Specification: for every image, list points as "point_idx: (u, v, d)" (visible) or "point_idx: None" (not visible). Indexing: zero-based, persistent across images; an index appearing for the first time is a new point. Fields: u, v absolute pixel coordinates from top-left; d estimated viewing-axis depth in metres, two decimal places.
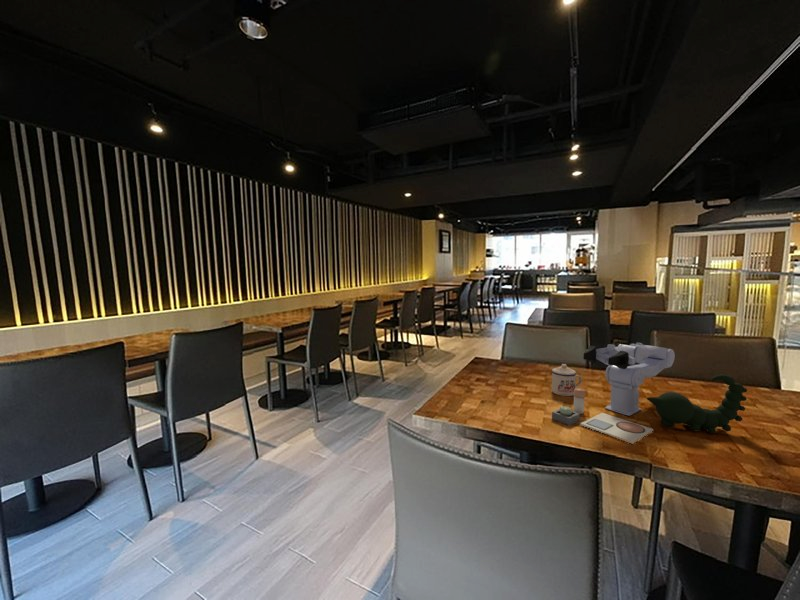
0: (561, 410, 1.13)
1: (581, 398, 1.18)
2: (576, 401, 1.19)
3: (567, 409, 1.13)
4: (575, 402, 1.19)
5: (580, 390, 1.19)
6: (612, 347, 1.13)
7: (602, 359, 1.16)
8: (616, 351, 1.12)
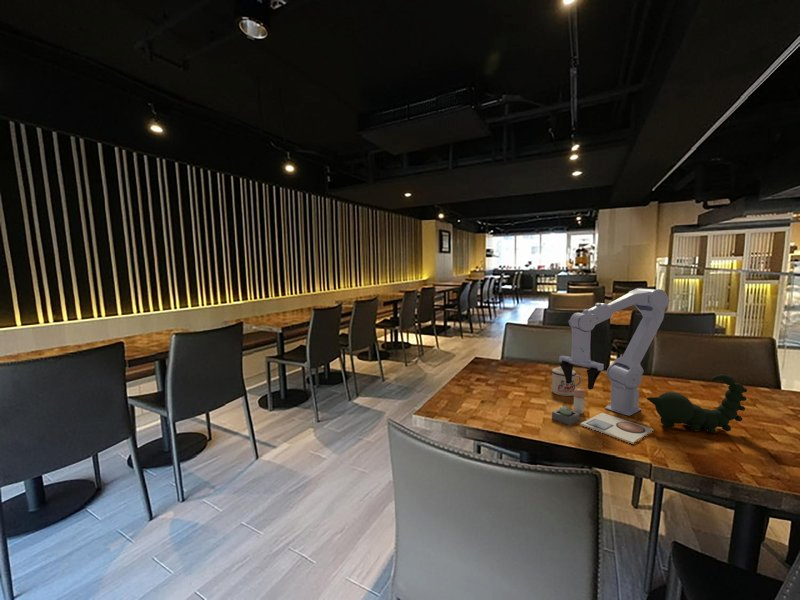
0: (561, 410, 1.13)
1: (581, 398, 1.18)
2: (576, 400, 1.19)
3: (567, 409, 1.13)
4: (575, 402, 1.19)
5: (580, 390, 1.19)
6: (577, 363, 1.16)
7: None
8: None
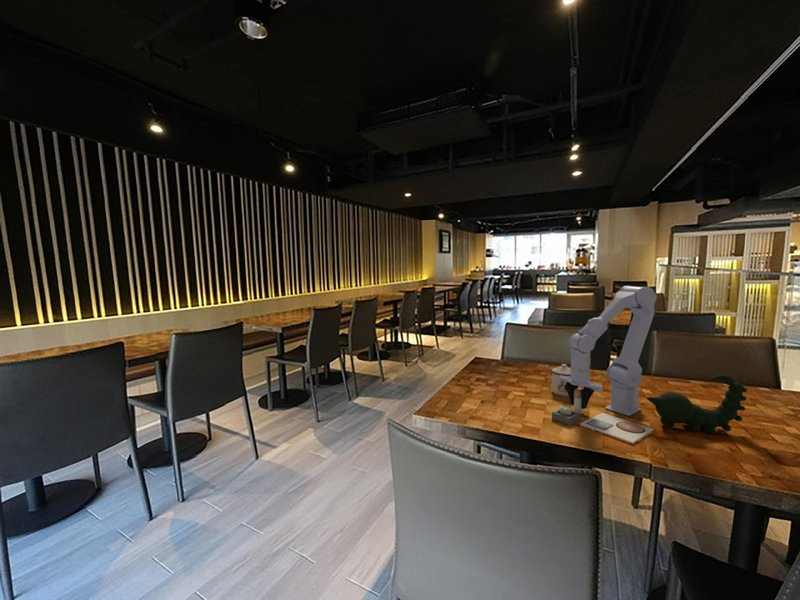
0: (561, 410, 1.13)
1: (581, 398, 1.18)
2: (576, 401, 1.19)
3: (567, 409, 1.13)
4: (575, 402, 1.19)
5: None
6: (576, 385, 1.17)
7: None
8: None
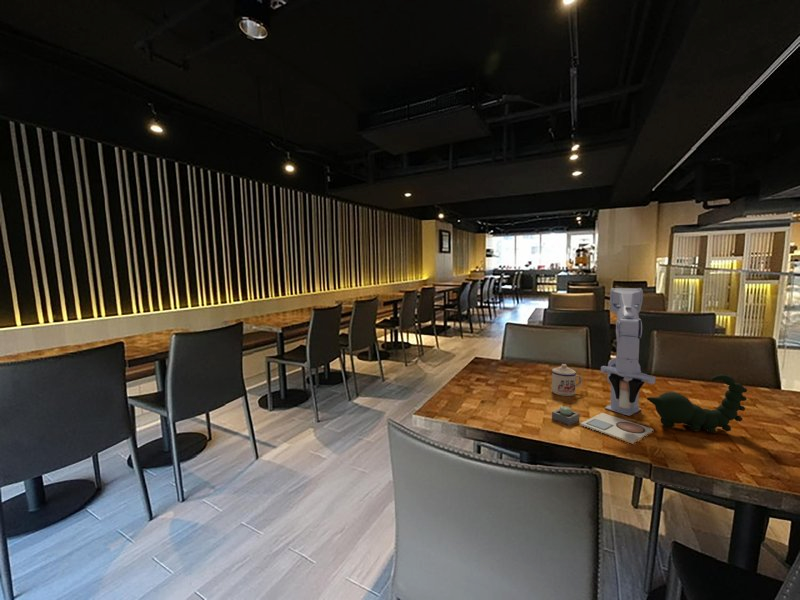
0: (561, 410, 1.13)
1: (629, 390, 1.05)
2: (622, 394, 1.06)
3: (567, 409, 1.13)
4: (621, 395, 1.06)
5: (627, 382, 1.06)
6: (623, 375, 1.04)
7: None
8: None
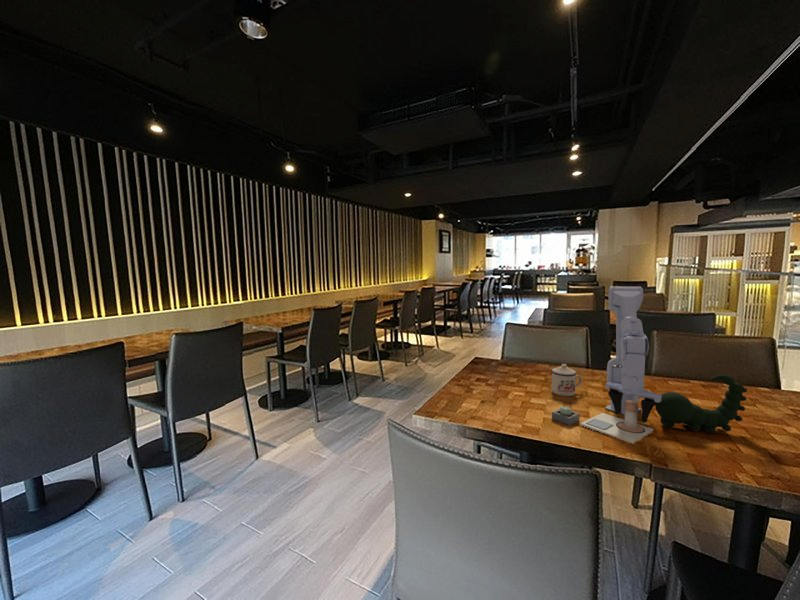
0: (561, 410, 1.13)
1: (635, 411, 1.04)
2: (628, 414, 1.05)
3: (567, 409, 1.13)
4: (627, 416, 1.05)
5: (633, 403, 1.05)
6: (629, 393, 1.03)
7: None
8: None
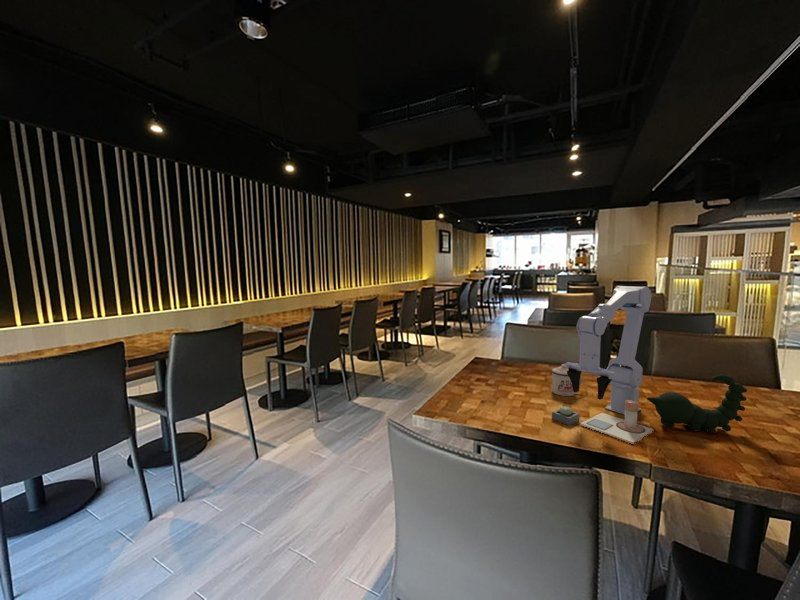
0: (561, 410, 1.13)
1: (635, 412, 1.04)
2: (628, 414, 1.05)
3: (567, 409, 1.13)
4: (627, 416, 1.05)
5: (633, 403, 1.05)
6: None
7: None
8: None
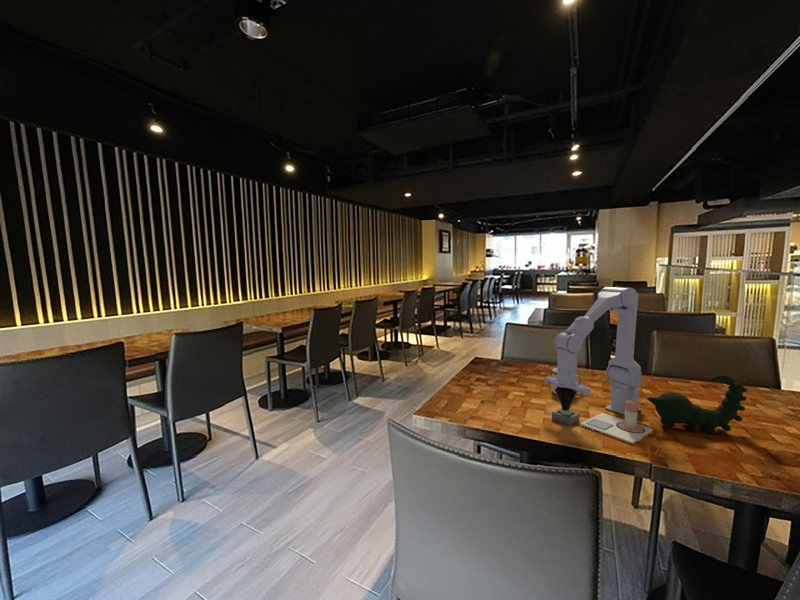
0: (561, 411, 1.13)
1: (635, 412, 1.04)
2: (628, 415, 1.05)
3: (567, 410, 1.13)
4: (627, 416, 1.05)
5: (633, 403, 1.05)
6: (562, 387, 1.11)
7: None
8: None
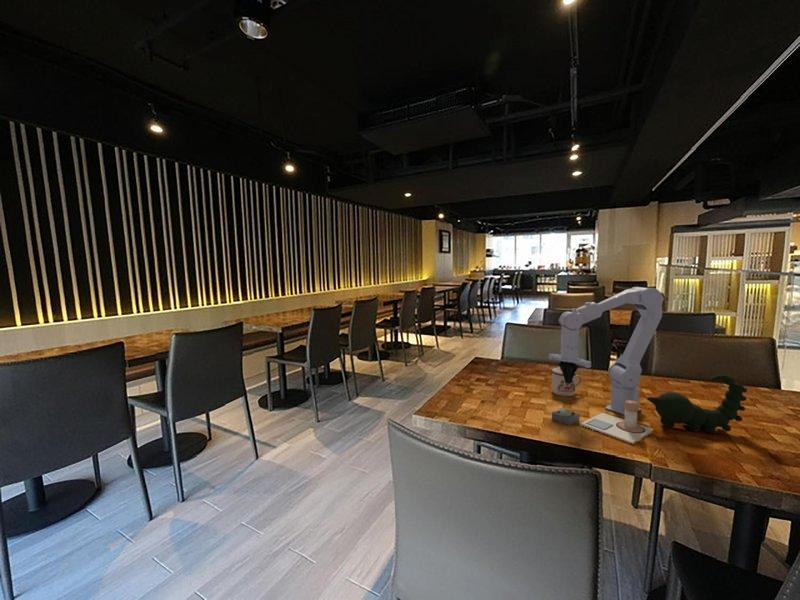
0: (561, 413, 1.13)
1: (635, 411, 1.04)
2: (628, 414, 1.05)
3: (567, 412, 1.13)
4: (627, 416, 1.05)
5: (633, 403, 1.05)
6: None
7: None
8: None
